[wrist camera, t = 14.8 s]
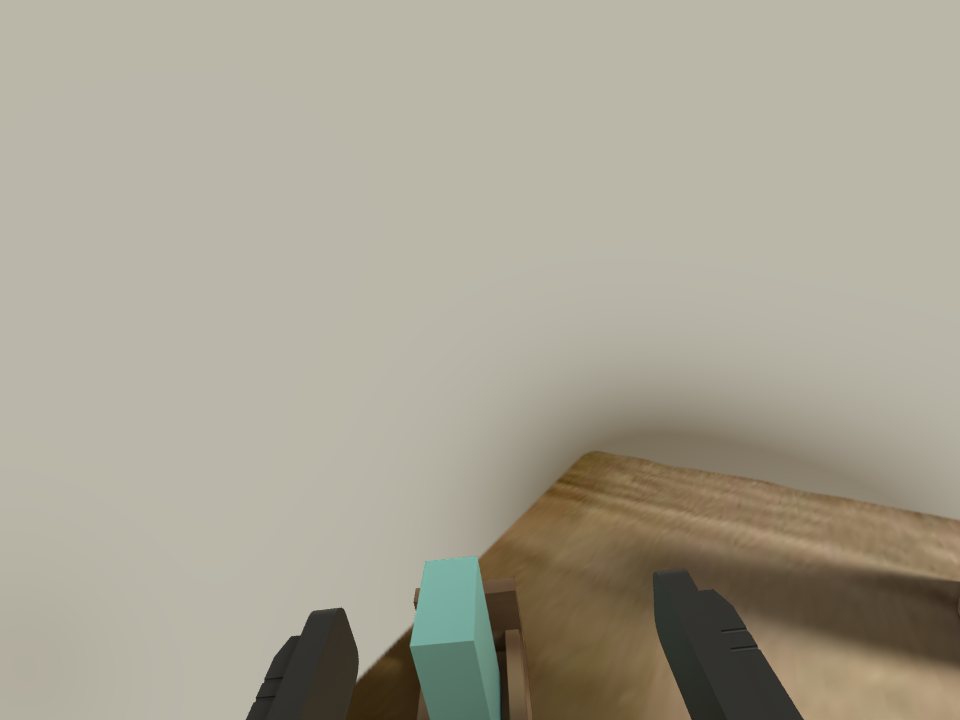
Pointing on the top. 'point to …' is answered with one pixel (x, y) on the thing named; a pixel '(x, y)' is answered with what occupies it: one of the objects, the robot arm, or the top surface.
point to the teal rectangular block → (456, 643)
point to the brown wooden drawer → (503, 649)
